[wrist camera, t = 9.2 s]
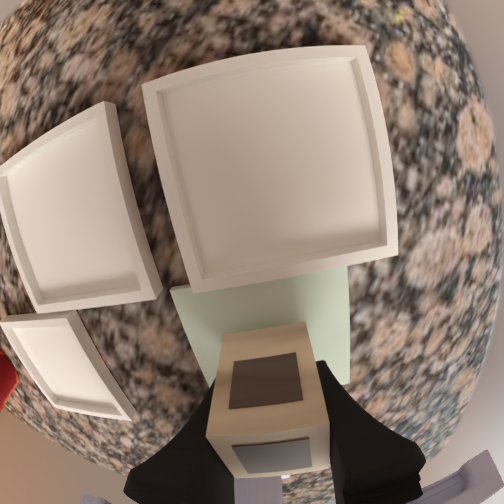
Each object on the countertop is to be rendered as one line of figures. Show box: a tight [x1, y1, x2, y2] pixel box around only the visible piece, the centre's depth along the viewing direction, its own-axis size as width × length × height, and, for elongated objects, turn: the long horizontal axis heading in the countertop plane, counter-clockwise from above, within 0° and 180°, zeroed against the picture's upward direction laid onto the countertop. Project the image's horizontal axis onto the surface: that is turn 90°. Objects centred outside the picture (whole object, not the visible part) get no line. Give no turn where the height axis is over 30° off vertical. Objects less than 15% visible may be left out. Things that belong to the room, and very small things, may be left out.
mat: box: [170, 266, 350, 388], centre depth 15 cm, size 9×9×1 cm
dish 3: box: [141, 45, 398, 294], centre depth 11 cm, size 10×10×1 cm
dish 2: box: [0, 310, 136, 421], centre depth 16 cm, size 10×10×1 cm
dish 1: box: [0, 101, 163, 314], centre depth 12 cm, size 10×10×1 cm
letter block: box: [206, 321, 330, 478], centre depth 11 cm, size 4×4×6 cm
